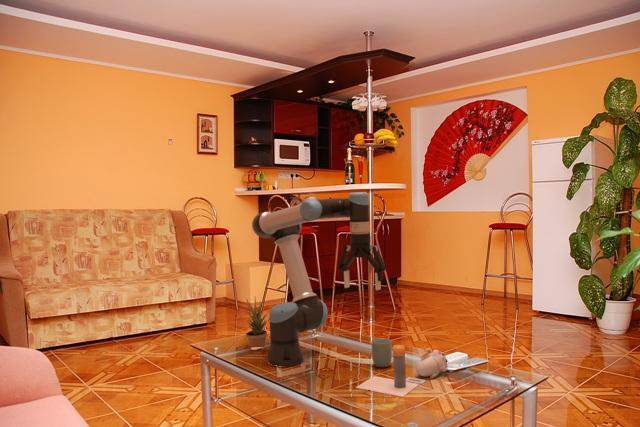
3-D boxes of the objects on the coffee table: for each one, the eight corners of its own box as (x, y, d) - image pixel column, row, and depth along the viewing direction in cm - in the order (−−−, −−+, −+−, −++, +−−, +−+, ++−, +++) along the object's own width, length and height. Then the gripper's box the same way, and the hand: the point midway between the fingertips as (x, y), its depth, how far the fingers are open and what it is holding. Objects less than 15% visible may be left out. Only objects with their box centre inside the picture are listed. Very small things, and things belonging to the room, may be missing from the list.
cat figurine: (418, 354, 191) (444, 341, 200) (405, 361, 197) (431, 348, 206) (431, 379, 188) (457, 365, 197) (418, 385, 194) (444, 371, 203)
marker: (392, 387, 185) (390, 347, 184) (396, 383, 188) (395, 344, 188) (403, 388, 182) (401, 348, 182) (408, 384, 186) (406, 345, 186)
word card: (403, 381, 191) (403, 380, 191) (408, 377, 194) (408, 376, 194) (421, 384, 187) (421, 383, 187) (426, 380, 190) (426, 379, 190)
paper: (355, 388, 186) (355, 387, 186) (373, 376, 197) (373, 376, 197) (402, 397, 176) (402, 396, 176) (419, 384, 186) (419, 384, 186)
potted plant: (242, 350, 239) (239, 295, 238) (256, 344, 247) (253, 291, 246) (259, 353, 233) (256, 297, 232) (273, 347, 241) (270, 293, 240)
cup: (391, 369, 204) (390, 343, 204) (371, 369, 206) (370, 343, 205) (393, 363, 212) (392, 338, 211) (373, 362, 213) (372, 337, 213)
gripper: (327, 233, 206) (329, 288, 207) (384, 233, 192) (387, 292, 192) (337, 232, 212) (339, 284, 213) (394, 232, 198) (396, 288, 199)
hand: (362, 288), depth 203 cm, fingers open, 13 cm apart
